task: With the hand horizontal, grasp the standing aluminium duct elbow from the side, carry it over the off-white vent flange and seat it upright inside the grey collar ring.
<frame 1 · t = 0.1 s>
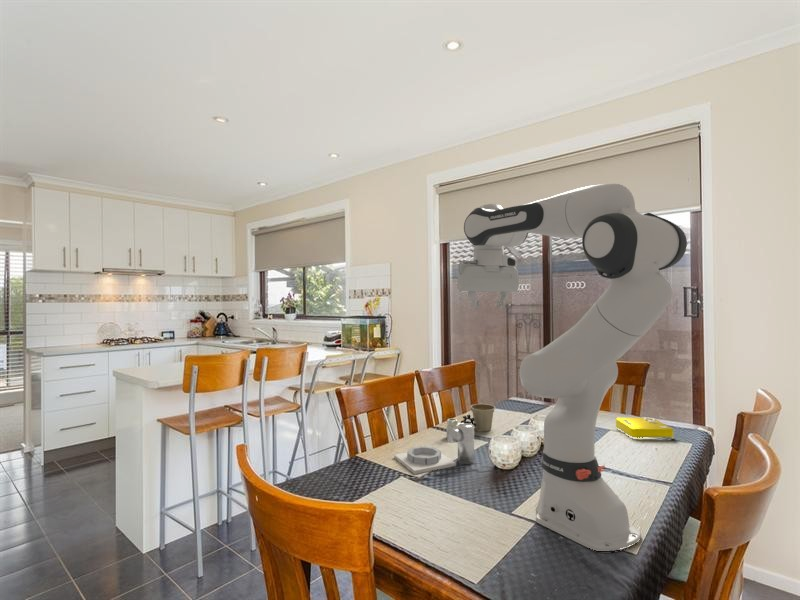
hand: (488, 307, 129), 48 cm above the table, tool pointing down, fingers open, 8 cm apart
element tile: (643, 435, 162), on the table
valve: (459, 436, 160), on the table
duct elbow: (465, 460, 135), on the table
vent flange: (424, 461, 134), on the table
flower pot: (482, 429, 167), on the table
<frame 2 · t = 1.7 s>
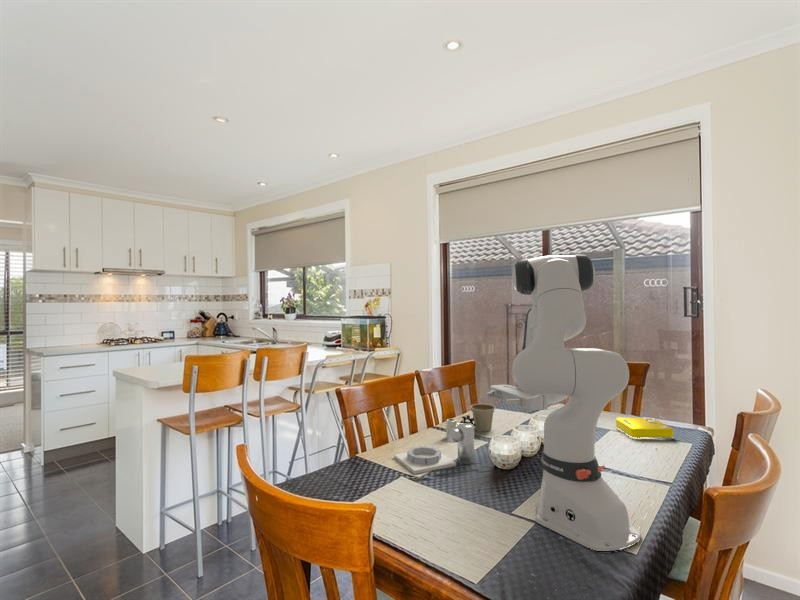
hand: (496, 399, 140), 18 cm above the table, tool horizontal, fingers open, 8 cm apart
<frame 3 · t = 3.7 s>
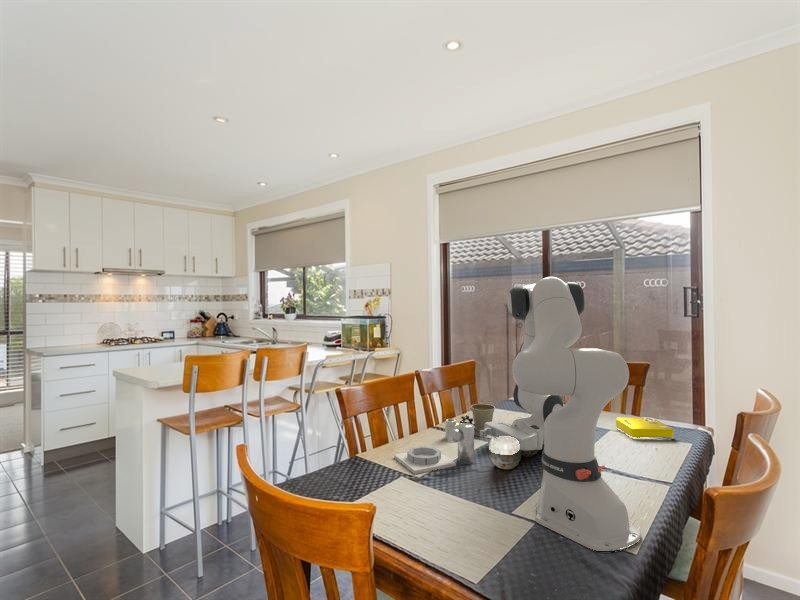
hand: (489, 437, 138), 6 cm above the table, tool horizontal, fingers open, 8 cm apart
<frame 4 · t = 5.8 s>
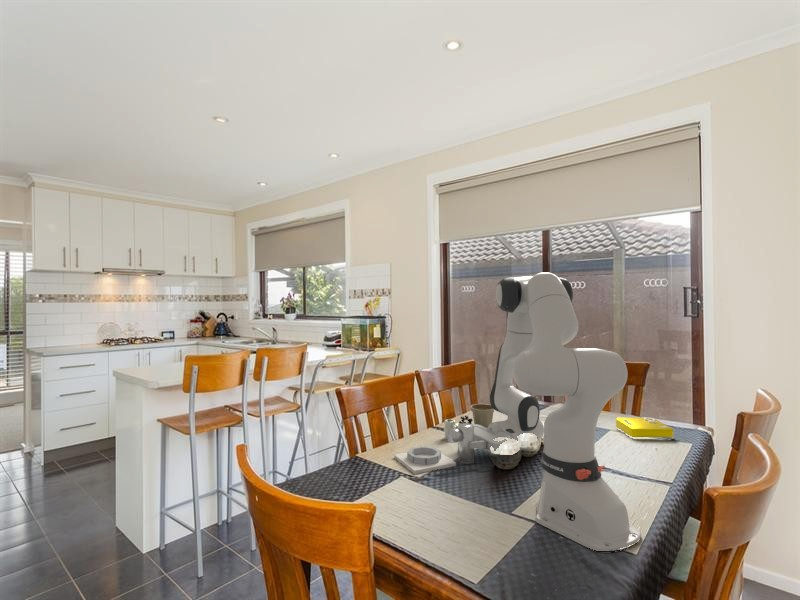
hand: (463, 442, 134), 6 cm above the table, tool horizontal, fingers closed on duct elbow, 5 cm apart
duct elbow: (465, 460, 135), on the table, touching gripper
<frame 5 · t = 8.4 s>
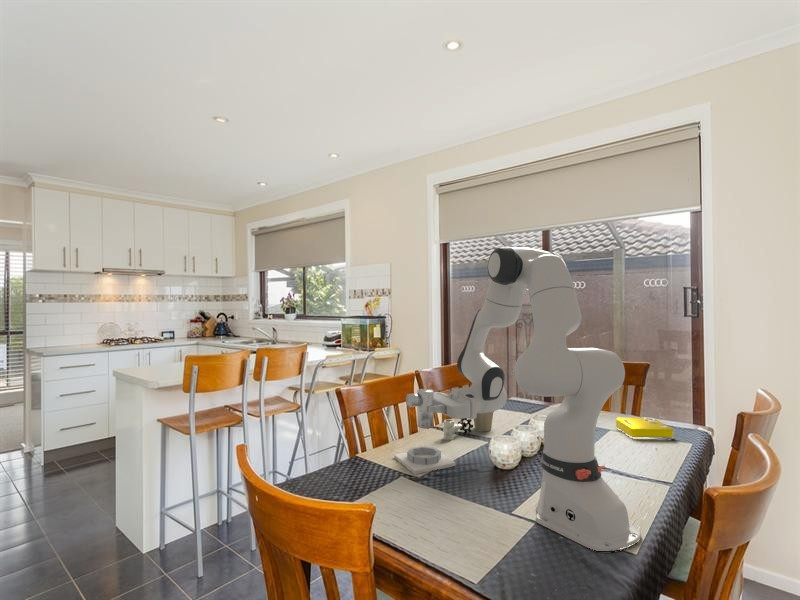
hand: (422, 406, 134), 17 cm above the table, tool horizontal, fingers closed on duct elbow, 5 cm apart
duct elbow: (425, 426, 134), point 11 cm above the table, touching gripper
when the fingers open (8 cm above the table, at t = 10.6 s): duct elbow stays where it is, resting on vent flange.
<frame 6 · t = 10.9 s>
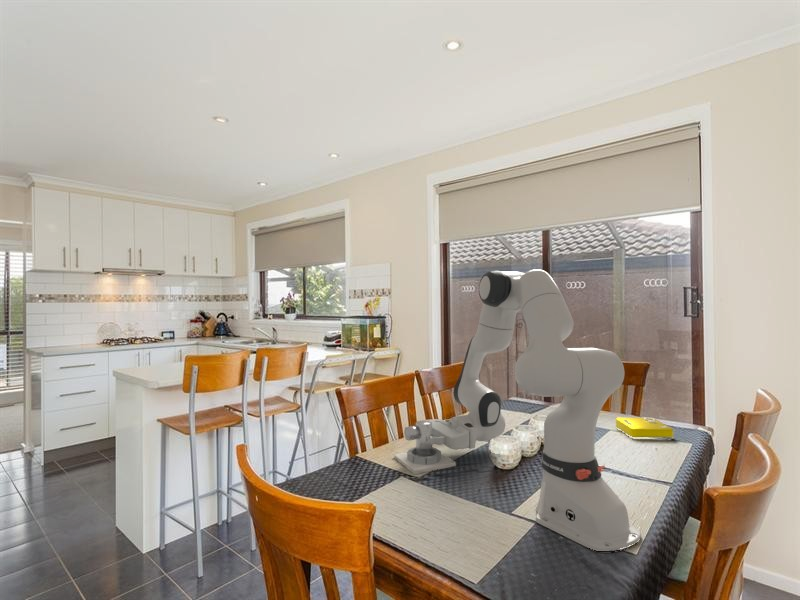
hand: (421, 436, 134), 8 cm above the table, tool horizontal, fingers open, 8 cm apart
duct elbow: (424, 458, 134), point 1 cm above the table, touching vent flange
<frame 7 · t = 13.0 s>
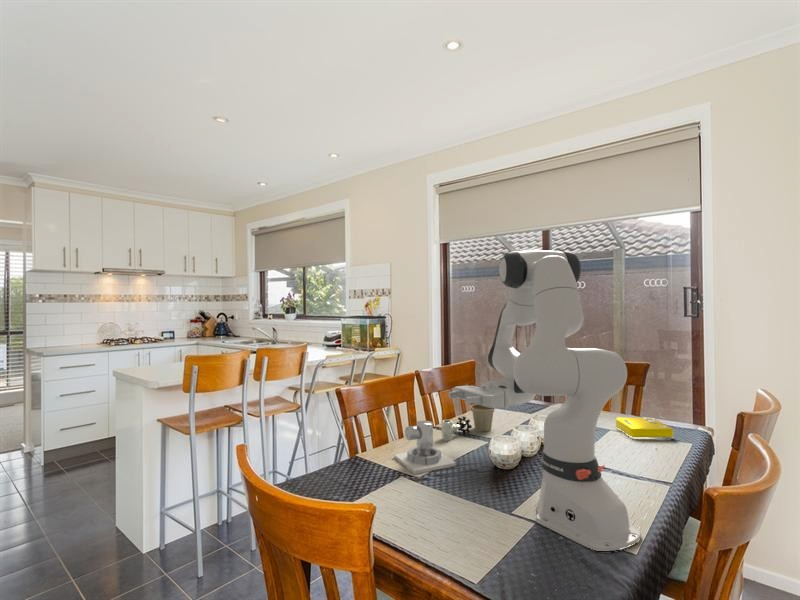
hand: (457, 397, 139), 19 cm above the table, tool horizontal, fingers open, 8 cm apart
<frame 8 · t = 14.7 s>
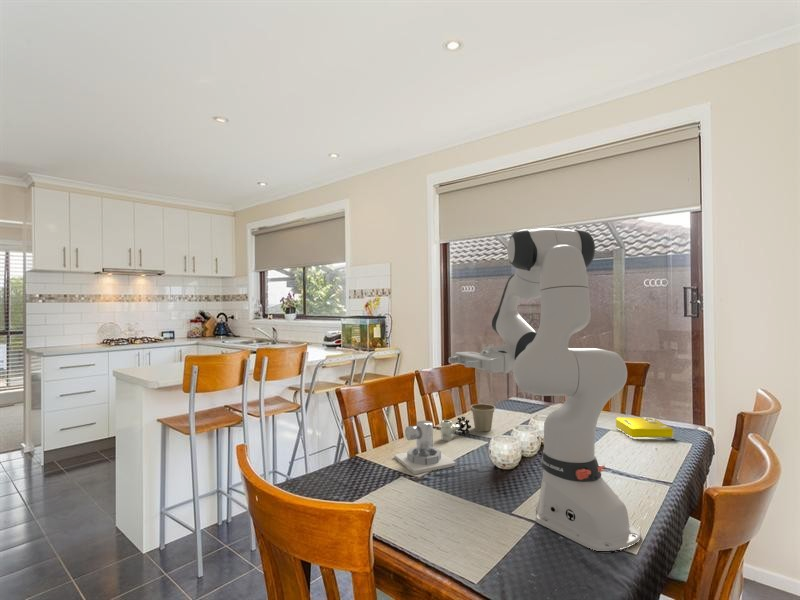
hand: (457, 362, 139), 30 cm above the table, tool horizontal, fingers open, 8 cm apart
at the end: duct elbow 0.2 cm from the vent flange (horizontally); duct elbow point 1.0 cm above the table; duct elbow tilted 0° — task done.
